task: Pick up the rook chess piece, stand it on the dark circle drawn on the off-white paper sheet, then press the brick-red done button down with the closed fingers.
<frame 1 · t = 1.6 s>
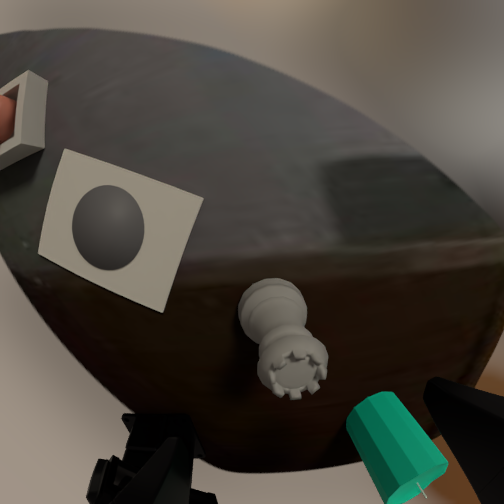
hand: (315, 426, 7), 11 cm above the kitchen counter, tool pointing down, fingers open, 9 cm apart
button housing: (20, 126, 14), on the kitchen counter
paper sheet: (107, 227, 16), on the kitchen counter
candle: (371, 412, 22), on the kitchen counter
rook chess piece: (270, 306, 18), on the kitchen counter
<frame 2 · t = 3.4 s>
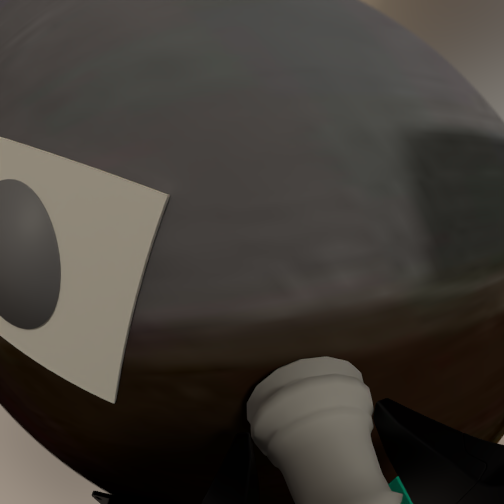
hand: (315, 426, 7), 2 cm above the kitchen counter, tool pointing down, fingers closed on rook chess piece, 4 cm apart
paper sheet: (13, 255, 7), on the kitchen counter
candle: (413, 475, 13), on the kitchen counter
rook chess piece: (303, 394, 9), on the kitchen counter, touching gripper
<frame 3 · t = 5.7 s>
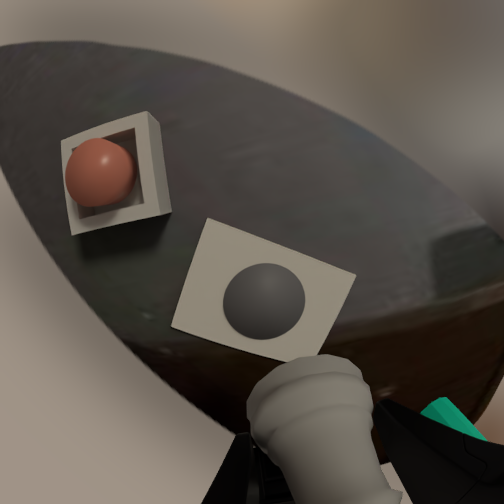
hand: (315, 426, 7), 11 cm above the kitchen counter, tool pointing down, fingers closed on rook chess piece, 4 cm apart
button housing: (123, 176, 16), on the kitchen counter
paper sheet: (264, 301, 19), on the kitchen counter
candle: (430, 414, 24), on the kitchen counter
rook chess piece: (303, 392, 9), point 10 cm above the kitchen counter, touching gripper
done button: (101, 173, 13), point 3 cm above the kitchen counter, slide at 0.0 cm
when the fingers open (3 cm above the kitchen counter, at t = 7.9 s): rook chess piece drops 1 cm, resting on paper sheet.
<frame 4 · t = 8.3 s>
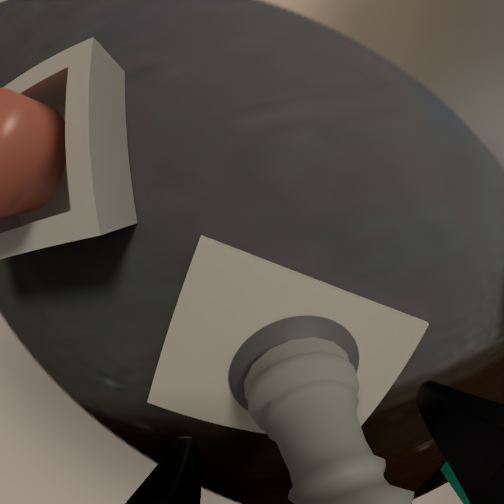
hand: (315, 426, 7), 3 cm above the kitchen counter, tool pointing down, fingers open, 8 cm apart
button housing: (62, 162, 8), on the kitchen counter
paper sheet: (295, 370, 11), on the kitchen counter
candle: (460, 453, 16), on the kitchen counter
rook chess piece: (295, 374, 11), resting on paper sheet
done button: (6, 155, 5), point 3 cm above the kitchen counter, slide at 0.0 cm
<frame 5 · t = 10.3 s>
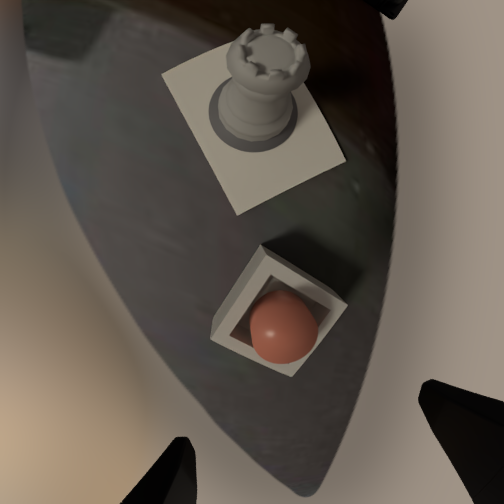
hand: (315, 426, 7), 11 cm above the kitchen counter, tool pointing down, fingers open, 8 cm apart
button housing: (273, 303, 18), on the kitchen counter
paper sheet: (253, 111, 16), on the kitchen counter
rook chess piece: (253, 110, 15), resting on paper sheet
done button: (281, 326, 15), point 3 cm above the kitchen counter, slide at 0.0 cm
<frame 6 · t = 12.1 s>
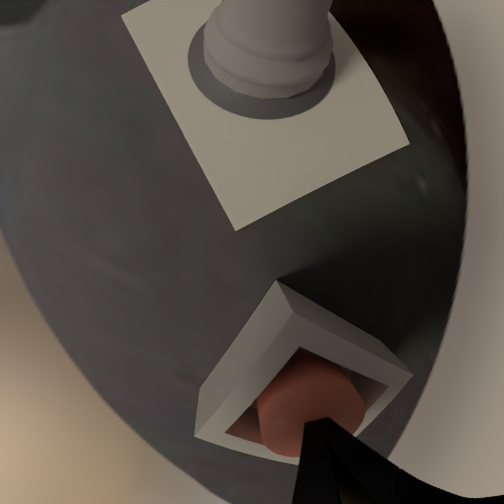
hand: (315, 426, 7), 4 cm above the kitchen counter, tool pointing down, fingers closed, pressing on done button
button housing: (293, 368, 11), on the kitchen counter
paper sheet: (262, 58, 8), on the kitchen counter
rook chess piece: (263, 55, 8), resting on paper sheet
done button: (307, 405, 9), point 3 cm above the kitchen counter, slide at 0.9 cm, touching gripper
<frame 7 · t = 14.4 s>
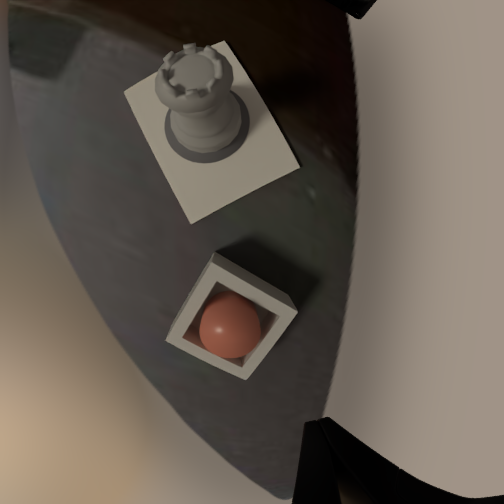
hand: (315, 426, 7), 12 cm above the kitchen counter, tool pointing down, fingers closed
button housing: (229, 308, 19), on the kitchen counter
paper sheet: (206, 123, 16), on the kitchen counter
rook chess piece: (207, 122, 16), resting on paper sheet
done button: (230, 324, 17), point 2 cm above the kitchen counter, slide at 0.9 cm
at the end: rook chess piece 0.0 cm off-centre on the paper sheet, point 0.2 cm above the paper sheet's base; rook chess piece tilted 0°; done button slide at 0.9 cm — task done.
